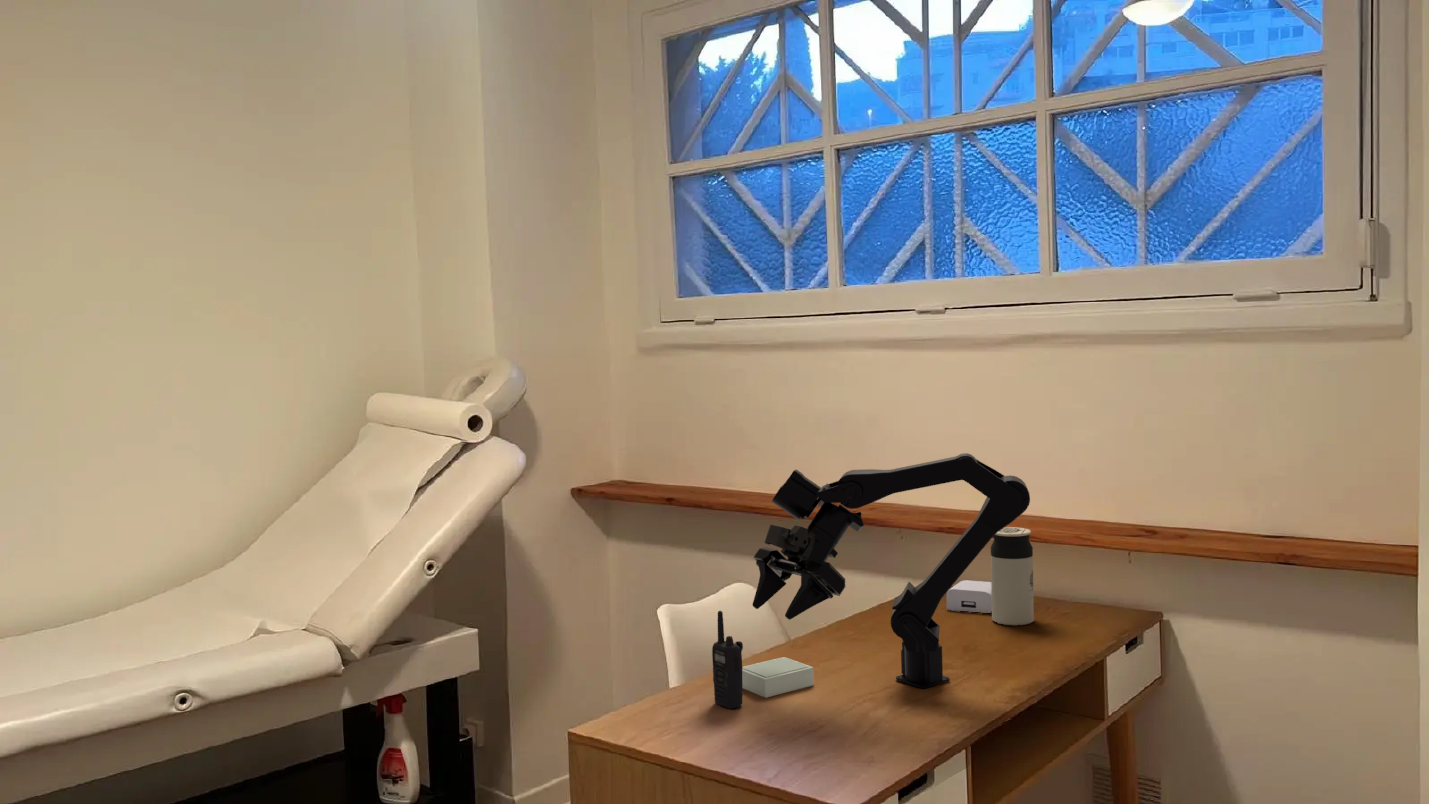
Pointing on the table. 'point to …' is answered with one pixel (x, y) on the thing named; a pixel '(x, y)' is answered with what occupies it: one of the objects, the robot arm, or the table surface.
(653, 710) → the table surface
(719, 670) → the two-way radio
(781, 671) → the sage tile
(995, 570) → the travel mug
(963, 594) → the charger
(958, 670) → the table surface
